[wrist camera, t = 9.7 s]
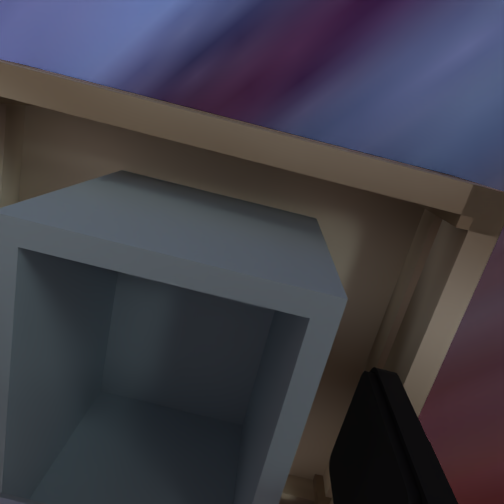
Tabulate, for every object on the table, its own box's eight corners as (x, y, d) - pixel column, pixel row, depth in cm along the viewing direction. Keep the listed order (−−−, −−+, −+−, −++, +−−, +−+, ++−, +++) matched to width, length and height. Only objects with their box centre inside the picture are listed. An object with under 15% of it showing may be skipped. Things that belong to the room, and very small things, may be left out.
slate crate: (121, 170, 13) (-11, 211, 7) (316, 218, 13) (348, 298, 7) (90, 390, 15) (-26, 557, 9) (254, 429, 15) (239, 620, 9)
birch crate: (17, 63, 12) (-80, 41, 9) (453, 176, 13) (516, 195, 9) (-6, 404, 16) (-80, 478, 13) (331, 487, 16) (344, 581, 13)
